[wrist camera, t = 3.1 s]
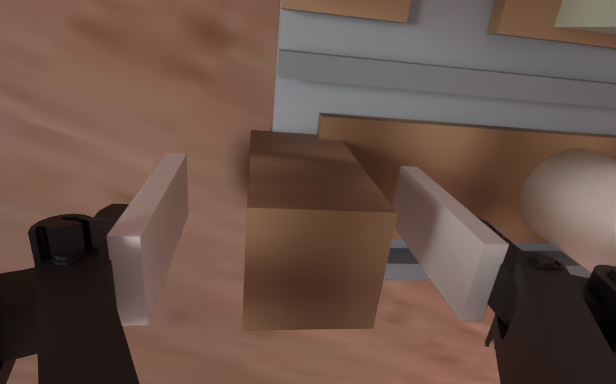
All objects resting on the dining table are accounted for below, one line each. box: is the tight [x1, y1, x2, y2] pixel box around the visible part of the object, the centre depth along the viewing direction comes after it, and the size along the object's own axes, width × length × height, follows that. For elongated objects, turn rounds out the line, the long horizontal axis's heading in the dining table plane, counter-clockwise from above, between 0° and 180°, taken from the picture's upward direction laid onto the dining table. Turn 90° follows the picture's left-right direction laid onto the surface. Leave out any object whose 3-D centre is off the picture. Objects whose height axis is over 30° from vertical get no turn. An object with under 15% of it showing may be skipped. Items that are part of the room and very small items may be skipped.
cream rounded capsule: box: [519, 148, 616, 273], centre depth 16 cm, size 5×5×6 cm
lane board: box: [272, 0, 616, 280], centre depth 14 cm, size 19×20×9 cm
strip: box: [242, 113, 616, 330], centre depth 15 cm, size 19×6×8 cm, turn 84°
